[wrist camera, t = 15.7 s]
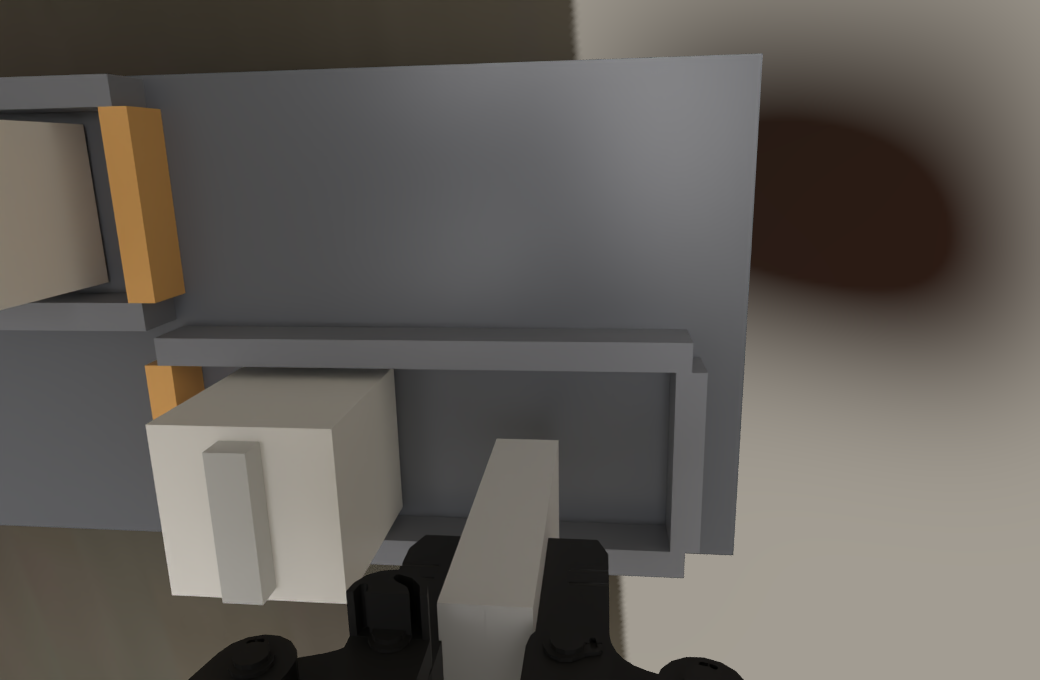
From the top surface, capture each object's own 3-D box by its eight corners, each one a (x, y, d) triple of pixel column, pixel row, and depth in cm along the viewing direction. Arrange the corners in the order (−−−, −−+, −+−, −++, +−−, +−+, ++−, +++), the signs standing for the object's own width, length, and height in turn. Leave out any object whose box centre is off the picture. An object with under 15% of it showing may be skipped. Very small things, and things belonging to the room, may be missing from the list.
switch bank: (-288, 98, 24) (-434, 89, 20) (747, 63, 20) (776, 45, 17) (-178, 489, 27) (-288, 537, 24) (722, 522, 24) (742, 584, 20)
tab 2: (247, 364, 22) (126, 436, 16) (393, 366, 21) (319, 441, 16) (263, 502, 23) (155, 612, 17) (402, 506, 22) (336, 622, 17)
